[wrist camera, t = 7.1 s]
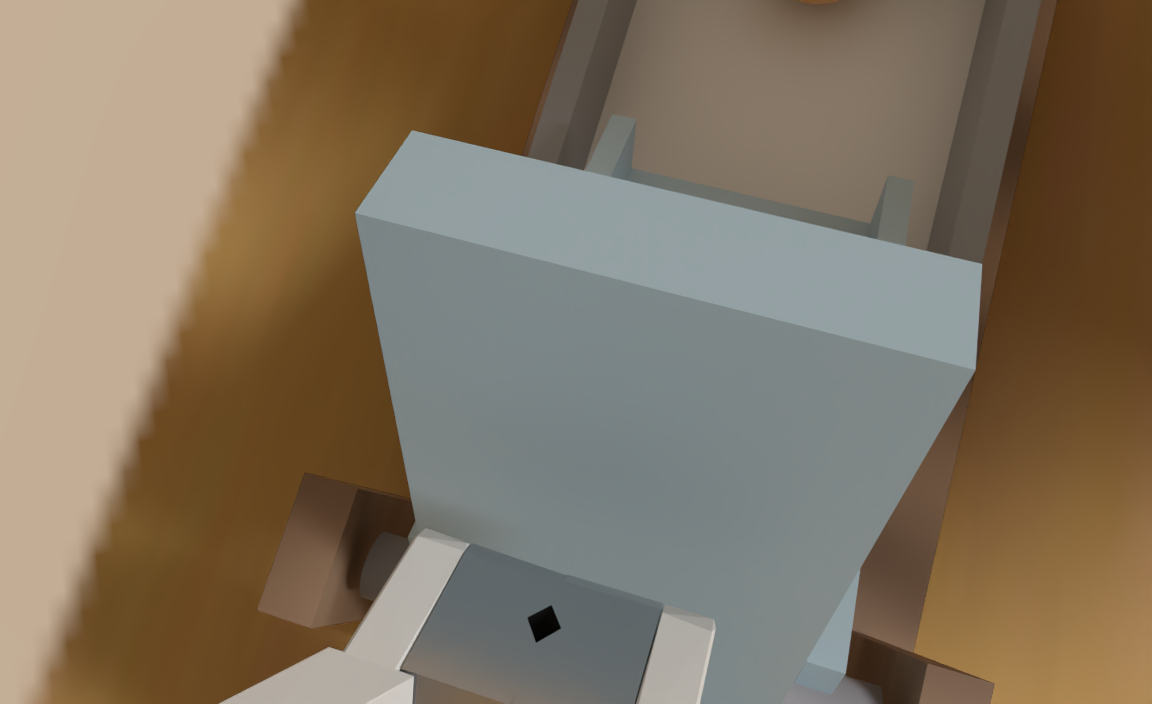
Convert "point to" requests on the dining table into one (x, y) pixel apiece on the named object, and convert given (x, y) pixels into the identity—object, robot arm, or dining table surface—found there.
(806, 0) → the orange ball
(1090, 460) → the dining table surface
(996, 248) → the walnut lever base
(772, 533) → the tipping lever
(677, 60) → the bin
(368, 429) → the dining table surface
